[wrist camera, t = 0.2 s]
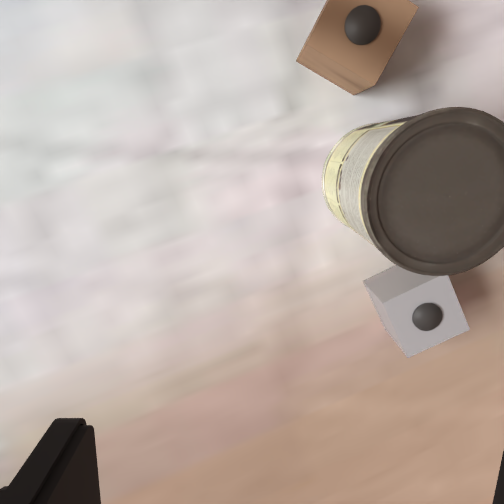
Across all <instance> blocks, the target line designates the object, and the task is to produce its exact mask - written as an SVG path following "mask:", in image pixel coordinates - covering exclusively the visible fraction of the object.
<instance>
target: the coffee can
mask: <svg viewBox="0 0 504 504" xmlns="http://www.w3.org/2000/svg"><path fill="white" fill-rule="evenodd" d="M322 190H323V195H324V198H325V201H326V204H327V206H328V208H329V209H330V211H331V212H332V214H333V215H334V216H335V217H336V218H337V219H338V220H339V221H340V222H341V223H343V224H344V225H346V226H348V227H350V228H351V229H352V230H354V231H355V232H356V233H358V234H359V235H360V236H362V237H363V238H364V239H366V240H367V241H368V242H370V243H371V244H372V245H374V246H375V247H376V248H378V250H379V251H380V252H381V253H382V254H383V255H384V256H385V257H387V258H388V259H389V260H390V261H391V262H393V263H394V264H396V265H397V266H399V267H401V268H403V269H405V270H408V271H410V272H413V273H417V274H421V275H429V276H446V275H453V274H458V273H461V272H465V271H467V270H470V269H472V268H474V267H476V266H478V265H480V264H482V263H484V262H485V261H487V260H488V259H490V258H491V257H492V256H494V255H495V254H496V253H497V252H498V251H500V250H501V249H502V248H503V247H504V123H503V122H502V121H501V120H499V119H497V118H496V117H494V116H492V115H490V114H488V113H486V112H484V111H480V110H476V109H472V108H465V107H449V108H442V109H436V110H432V111H429V112H426V113H423V114H421V115H418V116H412V117H407V118H402V119H398V120H393V121H388V122H382V123H374V124H368V125H364V126H361V127H359V128H356V129H354V130H352V131H350V132H349V133H347V134H346V135H345V136H344V137H342V138H341V139H340V140H339V141H338V142H337V143H336V145H335V146H334V147H333V149H332V150H331V152H330V153H329V155H328V157H327V160H326V162H325V164H324V168H323V174H322Z"/></svg>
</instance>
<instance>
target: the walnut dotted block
mask: <svg viewBox="0 0 504 504" xmlns="http://www.w3.org/2000/svg"><path fill="white" fill-rule="evenodd" d="M418 8H419V7H418V6H416V5H415V4H413V3H412V2H410V1H408V0H327V1H326V3H325V5H324V7H323V9H322V11H321V13H320V15H319V17H318V19H317V21H316V23H315V25H314V27H313V29H312V31H311V33H310V35H309V36H308V38H307V40H306V42H305V44H304V46H303V48H302V50H301V52H300V54H299V56H298V58H297V60H296V61H297V62H298V63H300V64H302V65H303V66H305V67H307V68H308V69H310V70H312V71H313V72H315V73H317V74H319V75H320V76H322V77H324V78H325V79H327V80H329V81H330V82H332V83H334V84H335V85H337V86H339V87H341V88H342V89H344V90H346V91H347V92H349V93H351V94H352V95H355V94H357V93H360V92H362V91H364V90H366V89H368V88H370V87H372V86H374V85H375V84H376V82H377V80H378V79H379V77H380V75H381V73H382V72H383V70H384V68H385V66H386V64H387V63H388V61H389V59H390V57H391V56H392V54H393V52H394V50H395V48H396V47H397V45H398V43H399V41H400V40H401V38H402V36H403V34H404V32H405V31H406V29H407V27H408V25H409V24H410V22H411V20H412V18H413V16H414V15H415V13H416V11H417V9H418Z"/></svg>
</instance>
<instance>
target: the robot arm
mask: <svg viewBox="0 0 504 504" xmlns="http://www.w3.org/2000/svg"><path fill="white" fill-rule="evenodd" d="M0 504H101V500H100V489H99V478H98V467H97V456H96V446H95V435H94V428H93V426H91V425H86V421H85V419H83V418H57V419H55V420H54V421H53V423H52V424H51V425H50V427H49V428H48V430H47V431H46V433H45V434H44V436H43V437H42V438H41V440H40V441H39V443H38V444H37V446H36V447H35V449H34V450H33V451H32V453H31V454H30V456H29V457H28V459H27V460H26V462H25V463H24V465H23V466H22V467H21V469H20V470H19V472H18V473H17V475H16V476H15V478H14V479H13V480H12V482H11V483H10V485H9V486H5V487H3V488H1V489H0ZM493 504H504V451H503V456H502V461H501V466H500V471H499V475H498V480H497V485H496V490H495V495H494V499H493Z"/></svg>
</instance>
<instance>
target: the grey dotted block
mask: <svg viewBox="0 0 504 504" xmlns="http://www.w3.org/2000/svg"><path fill="white" fill-rule="evenodd" d="M363 283H364V285H365V287H366V289H367V292H368V294H369V296H370V298H371V300H372V302H373V304H374V307H375V309H376V311H377V313H378V315H379V317H380V319H381V322H382V324H383V326H384V328H385V330H386V331H387V332H388V334H389V335H390V336H391V337H392V339H393V340H394V341H395V343H396V344H397V345H398V346H399V348H400V349H401V350H402V351H403V353H404V354H405V355H406V356H407V358H409V357H411V356H413V355H415V354H418V353H420V352H422V351H424V350H426V349H429V348H431V347H433V346H435V345H437V344H439V343H442V342H444V341H446V340H448V339H450V338H453V337H455V336H457V335H459V334H461V333H464V332H466V331H468V330H470V328H469V326H468V323H467V321H466V318H465V316H464V313H463V311H462V308H461V306H460V304H459V301H458V299H457V296H456V294H455V291H454V289H453V286H452V284H451V281H450V279H449V276H448V275H446V276H429V275H421V274H417V273H413V272H410V271H408V270H405V269H403V268H401V267H399V266H397V265H395V266H393V267H391V268H389V269H387V270H385V271H383V272H381V273H379V274H377V275H375V276H372V277H370V278H368V279H366V280H364V281H363Z"/></svg>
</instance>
